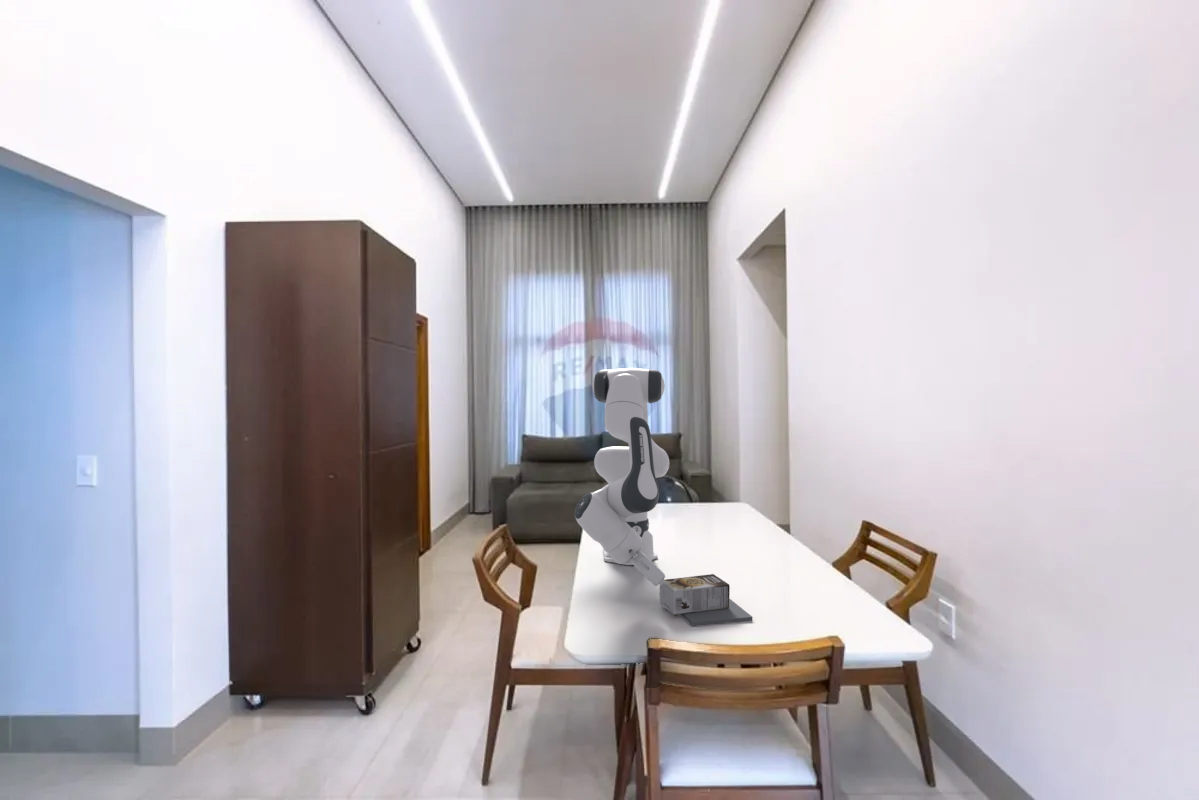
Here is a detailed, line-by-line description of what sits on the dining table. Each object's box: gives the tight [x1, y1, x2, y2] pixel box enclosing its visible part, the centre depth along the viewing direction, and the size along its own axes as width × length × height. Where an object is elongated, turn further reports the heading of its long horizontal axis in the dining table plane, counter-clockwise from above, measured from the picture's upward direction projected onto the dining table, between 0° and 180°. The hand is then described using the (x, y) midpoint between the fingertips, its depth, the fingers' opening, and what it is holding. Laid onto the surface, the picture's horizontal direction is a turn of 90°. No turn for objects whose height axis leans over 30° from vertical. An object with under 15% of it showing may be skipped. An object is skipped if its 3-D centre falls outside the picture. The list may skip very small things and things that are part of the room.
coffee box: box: [659, 573, 731, 616], centre depth 143 cm, size 9×6×16 cm
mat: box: [680, 597, 753, 627], centre depth 143 cm, size 18×16×1 cm
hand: (661, 581), depth 140 cm, fingers closed
